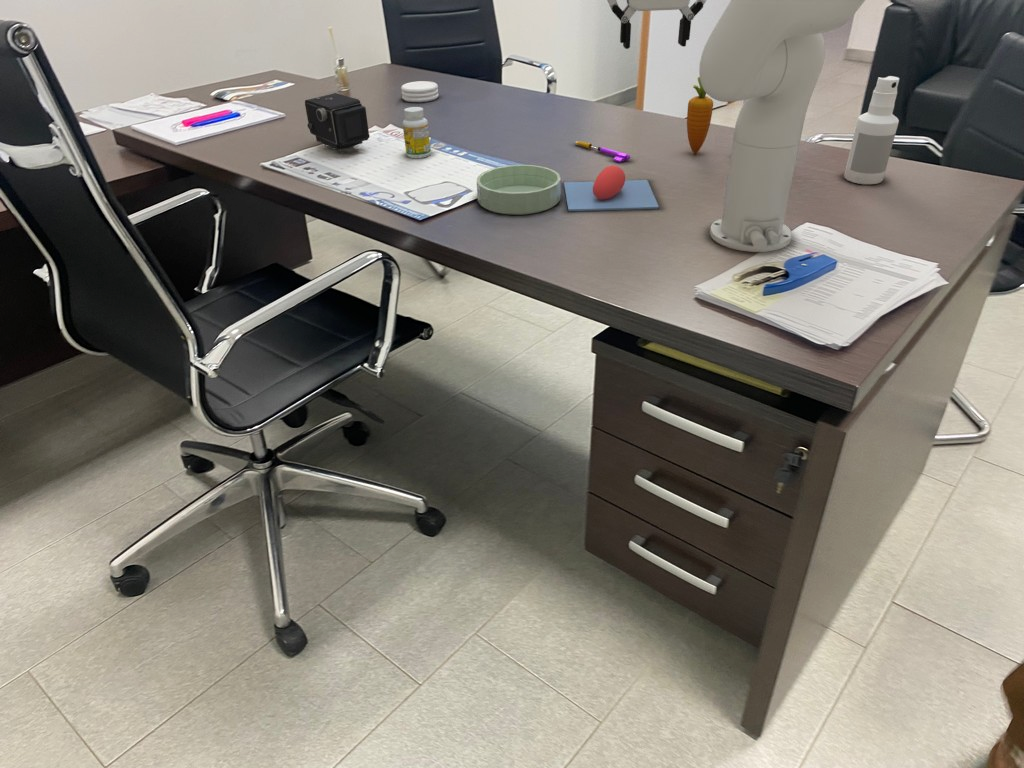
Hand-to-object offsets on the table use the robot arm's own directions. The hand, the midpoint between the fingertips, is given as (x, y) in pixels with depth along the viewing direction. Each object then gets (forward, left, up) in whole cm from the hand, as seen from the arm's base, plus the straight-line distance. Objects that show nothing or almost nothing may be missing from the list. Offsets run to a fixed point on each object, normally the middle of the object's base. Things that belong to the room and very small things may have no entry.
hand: (654, 46), depth 124 cm
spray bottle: (-2, -41, -24) cm, 48 cm away
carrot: (+16, -13, -24) cm, 32 cm away
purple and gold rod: (+18, +7, -24) cm, 31 cm away
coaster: (+71, +51, -24) cm, 91 cm away
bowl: (-7, +24, -24) cm, 35 cm away
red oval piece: (-7, +8, -24) cm, 26 cm away
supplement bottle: (+21, +46, -24) cm, 56 cm away
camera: (+27, +64, -24) cm, 74 cm away
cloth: (-7, +7, -24) cm, 26 cm away
